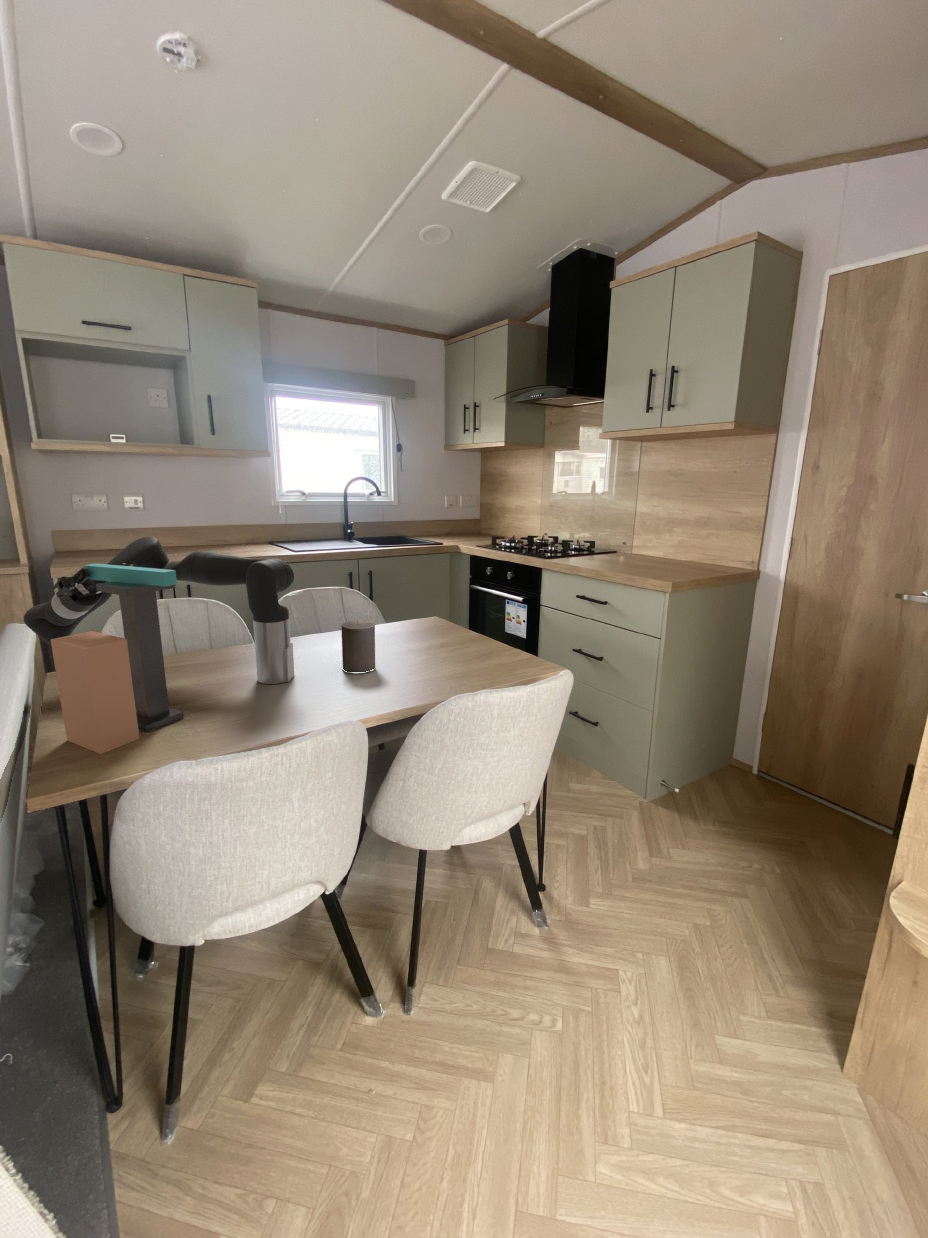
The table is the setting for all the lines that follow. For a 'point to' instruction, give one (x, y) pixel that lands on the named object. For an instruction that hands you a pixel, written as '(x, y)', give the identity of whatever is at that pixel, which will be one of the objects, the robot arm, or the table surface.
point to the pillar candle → (358, 646)
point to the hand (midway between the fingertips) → (106, 569)
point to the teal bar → (132, 574)
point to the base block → (95, 690)
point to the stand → (144, 652)
